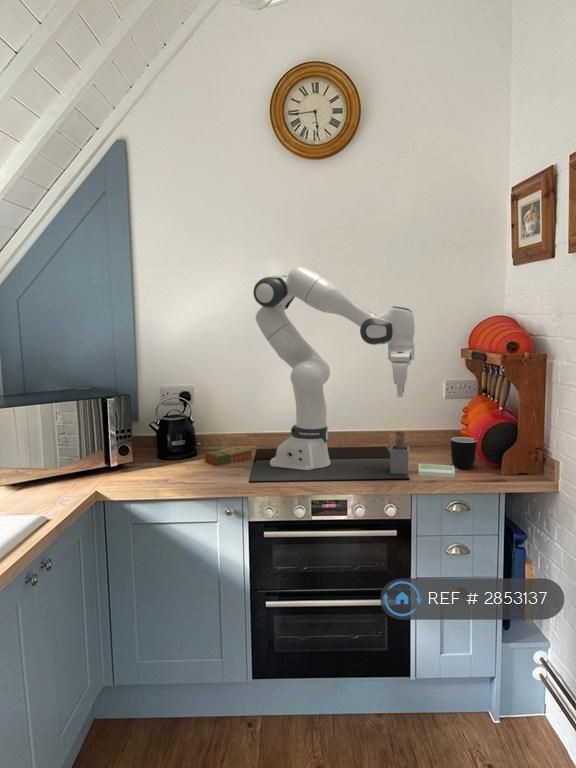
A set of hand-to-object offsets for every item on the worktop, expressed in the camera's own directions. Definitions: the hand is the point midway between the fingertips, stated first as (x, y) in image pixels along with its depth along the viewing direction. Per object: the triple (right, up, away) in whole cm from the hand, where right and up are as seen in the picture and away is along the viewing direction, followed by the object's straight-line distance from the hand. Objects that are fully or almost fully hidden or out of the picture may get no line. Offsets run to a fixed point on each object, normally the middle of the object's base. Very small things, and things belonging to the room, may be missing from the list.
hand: (400, 394), depth 206 cm
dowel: (0, -27, +3) cm, 27 cm away
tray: (+13, -28, +1) cm, 30 cm away
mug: (+24, -26, +12) cm, 38 cm away
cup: (0, -28, +3) cm, 28 cm away
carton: (-62, -26, +23) cm, 71 cm away
